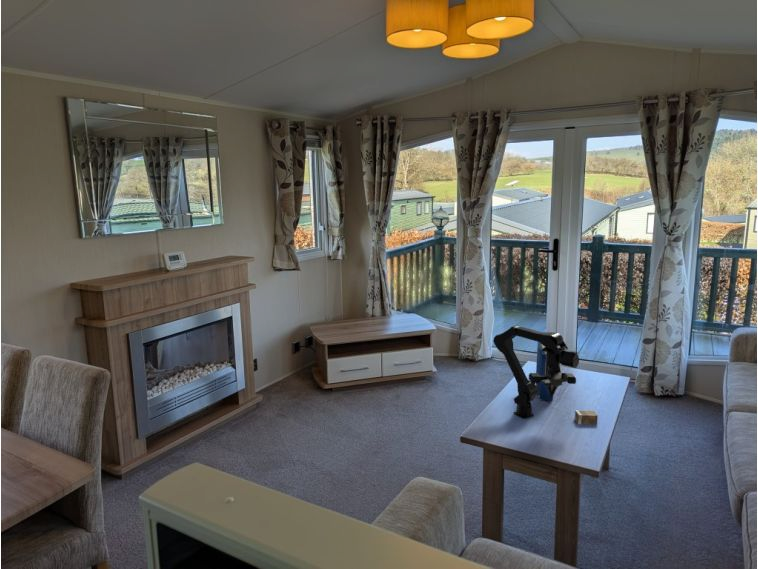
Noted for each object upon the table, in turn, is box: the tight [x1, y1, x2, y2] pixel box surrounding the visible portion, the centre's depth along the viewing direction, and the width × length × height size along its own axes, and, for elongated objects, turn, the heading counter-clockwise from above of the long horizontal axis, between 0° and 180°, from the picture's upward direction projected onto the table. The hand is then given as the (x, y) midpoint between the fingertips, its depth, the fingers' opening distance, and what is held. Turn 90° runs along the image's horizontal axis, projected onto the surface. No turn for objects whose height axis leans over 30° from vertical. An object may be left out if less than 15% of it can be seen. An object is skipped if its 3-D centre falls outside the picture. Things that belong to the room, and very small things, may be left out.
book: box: [535, 342, 554, 402], centre depth 261 cm, size 22×7×25 cm, turn 168°
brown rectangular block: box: [574, 410, 599, 425], centre depth 231 cm, size 4×5×8 cm
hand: (551, 397), depth 228 cm, fingers closed
